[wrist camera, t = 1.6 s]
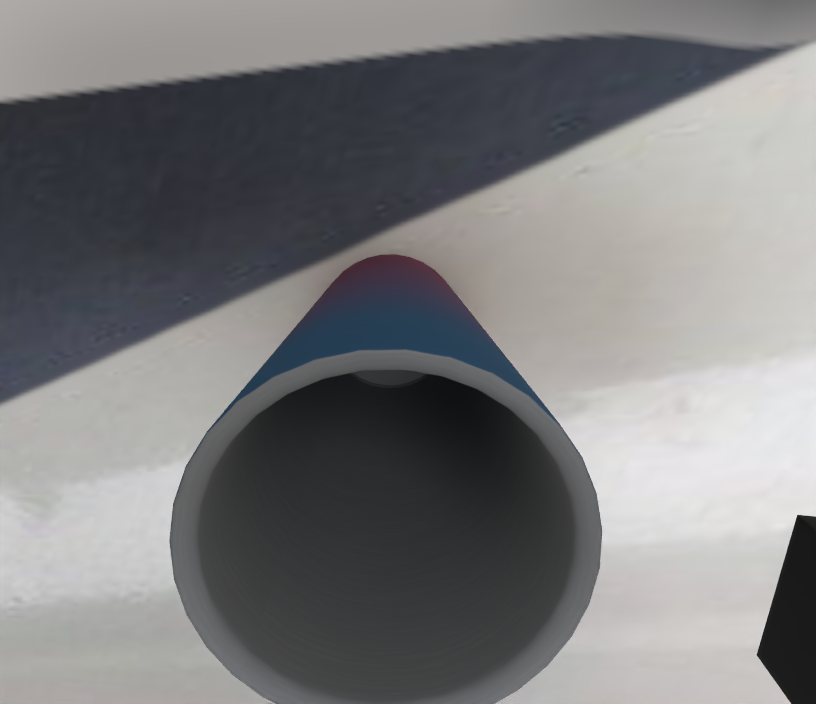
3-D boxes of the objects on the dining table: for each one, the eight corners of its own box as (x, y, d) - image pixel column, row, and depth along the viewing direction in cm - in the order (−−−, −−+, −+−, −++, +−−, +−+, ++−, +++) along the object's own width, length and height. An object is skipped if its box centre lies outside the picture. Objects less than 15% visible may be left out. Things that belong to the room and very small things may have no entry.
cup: (400, 186, 24) (413, 252, 10) (522, 333, 26) (687, 575, 11) (255, 313, 25) (75, 538, 11) (380, 447, 27) (366, 796, 13)
